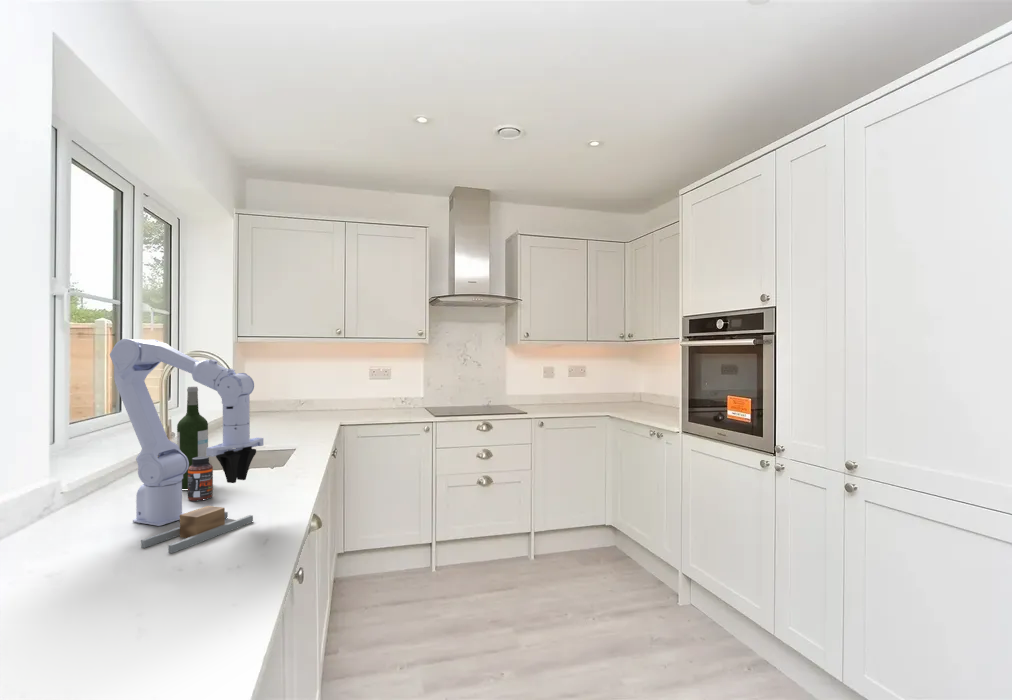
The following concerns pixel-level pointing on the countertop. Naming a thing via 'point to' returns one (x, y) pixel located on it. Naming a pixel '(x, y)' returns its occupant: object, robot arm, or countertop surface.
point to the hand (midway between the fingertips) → (236, 481)
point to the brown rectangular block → (201, 520)
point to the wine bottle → (192, 432)
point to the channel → (194, 539)
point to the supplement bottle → (200, 479)
